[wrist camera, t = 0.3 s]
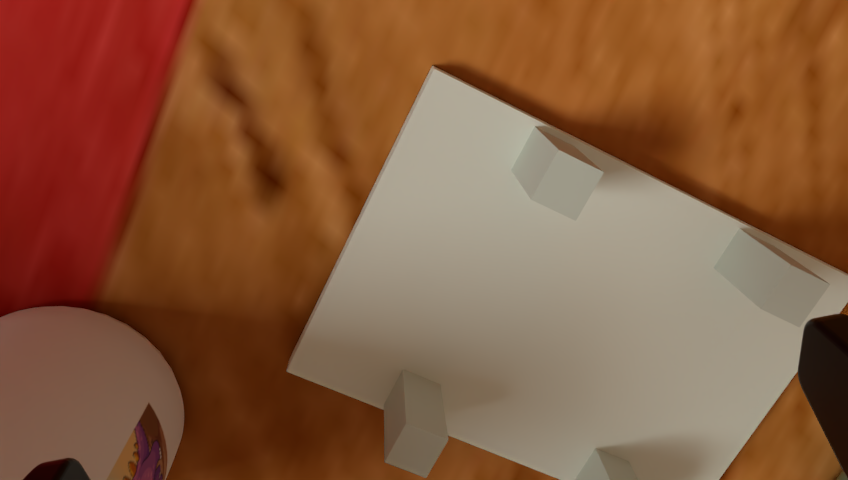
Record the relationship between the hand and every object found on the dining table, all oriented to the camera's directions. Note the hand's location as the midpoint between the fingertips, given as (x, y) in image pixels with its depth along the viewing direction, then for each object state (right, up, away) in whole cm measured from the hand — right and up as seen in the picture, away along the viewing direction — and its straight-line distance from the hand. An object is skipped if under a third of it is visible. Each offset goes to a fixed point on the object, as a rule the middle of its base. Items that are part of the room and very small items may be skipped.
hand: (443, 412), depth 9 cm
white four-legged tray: (+5, -1, +16) cm, 17 cm away
